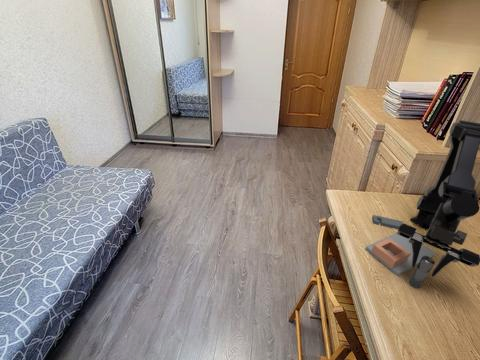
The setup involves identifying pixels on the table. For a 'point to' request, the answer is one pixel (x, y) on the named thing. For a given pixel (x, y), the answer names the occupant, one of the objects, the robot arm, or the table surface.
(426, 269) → the peg
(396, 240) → the socket base
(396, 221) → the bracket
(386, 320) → the table surface
